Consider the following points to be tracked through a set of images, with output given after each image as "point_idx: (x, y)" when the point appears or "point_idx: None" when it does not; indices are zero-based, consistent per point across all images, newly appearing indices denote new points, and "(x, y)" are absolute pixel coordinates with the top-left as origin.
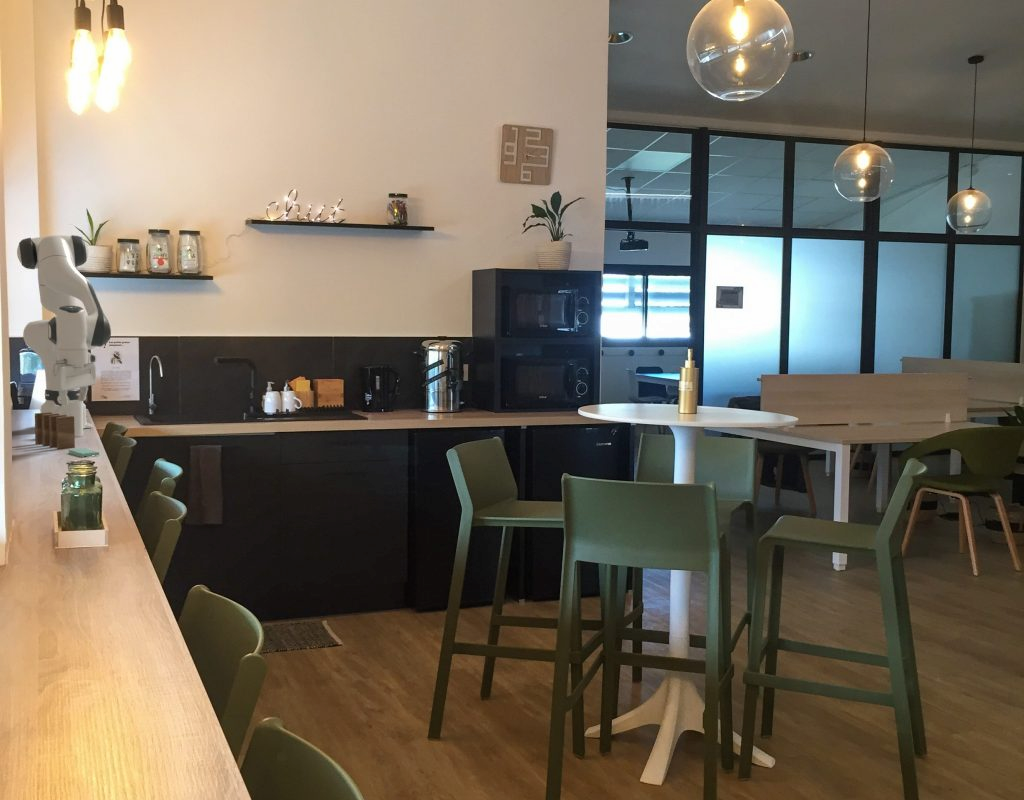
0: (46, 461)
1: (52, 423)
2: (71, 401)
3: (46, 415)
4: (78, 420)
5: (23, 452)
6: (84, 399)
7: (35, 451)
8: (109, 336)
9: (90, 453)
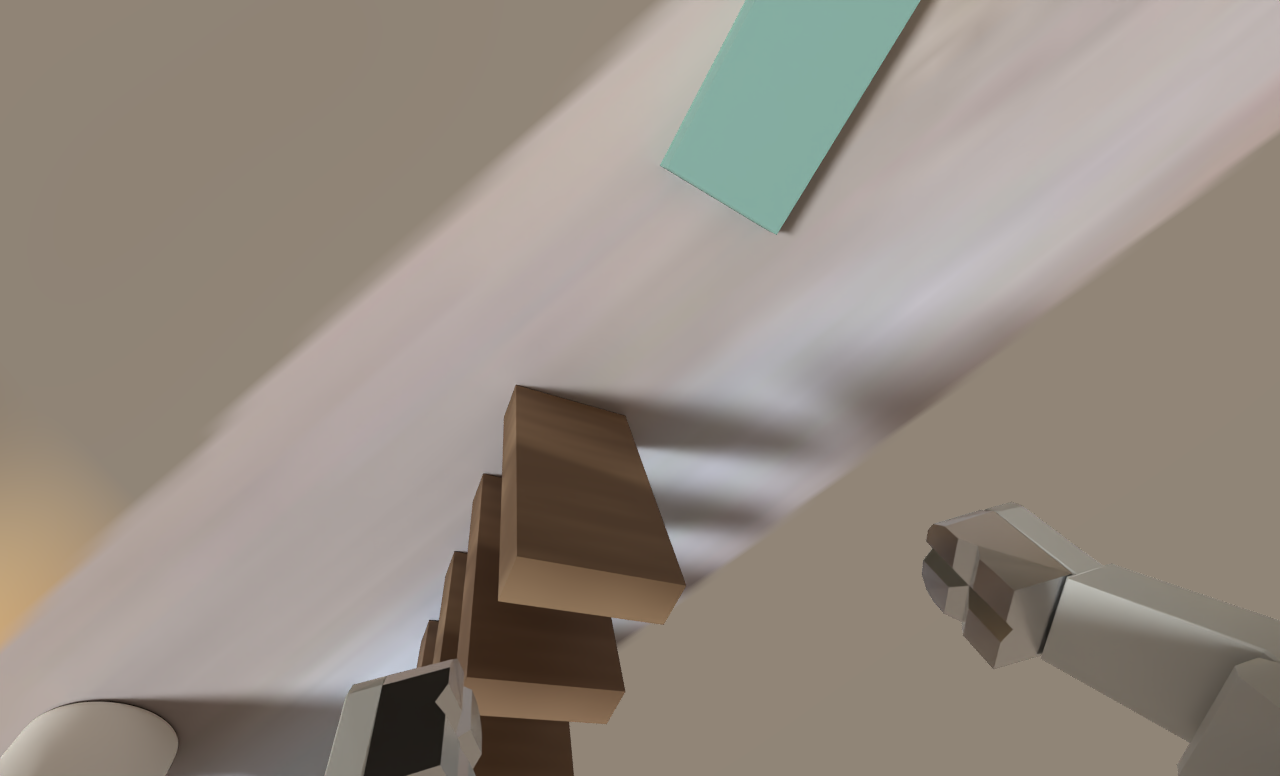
0: (1111, 114)
1: (606, 630)
2: None
3: (553, 773)
4: None
5: (802, 489)
6: (415, 677)
7: (752, 466)
8: None
9: None
